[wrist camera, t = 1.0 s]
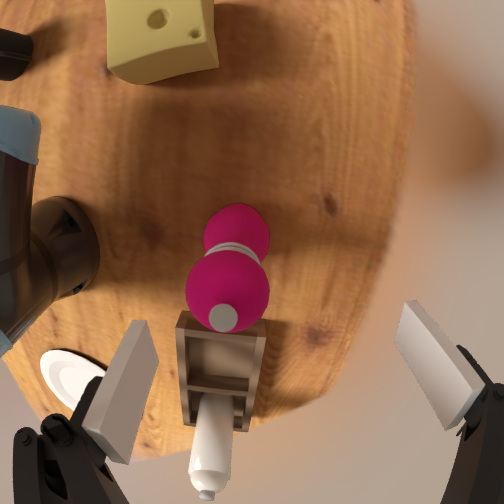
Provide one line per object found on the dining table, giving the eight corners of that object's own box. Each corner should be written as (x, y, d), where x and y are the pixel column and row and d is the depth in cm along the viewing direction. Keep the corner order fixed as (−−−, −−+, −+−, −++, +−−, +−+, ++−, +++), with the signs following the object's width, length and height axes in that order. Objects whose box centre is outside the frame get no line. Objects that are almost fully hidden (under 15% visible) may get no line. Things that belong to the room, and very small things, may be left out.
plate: (29, 333, 43) (25, 337, 42) (129, 362, 44) (126, 368, 43) (62, 405, 52) (59, 410, 51) (147, 432, 53) (146, 437, 52)
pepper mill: (277, 239, 35) (301, 345, 17) (227, 264, 37) (204, 380, 18) (250, 188, 33) (247, 248, 14) (198, 216, 34) (139, 301, 16)
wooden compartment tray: (248, 415, 49) (248, 432, 45) (187, 408, 48) (183, 424, 44) (265, 319, 40) (266, 337, 36) (181, 310, 39) (175, 327, 35)
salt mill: (201, 405, 46) (186, 500, 27) (200, 385, 44) (182, 489, 25) (233, 409, 46) (228, 505, 27) (236, 389, 44) (230, 495, 25)
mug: (32, 86, 26) (-14, 82, 17) (-3, 78, 25) (-43, 76, 15) (54, 37, 24) (11, 23, 14) (15, 35, 22) (-23, 26, 12)
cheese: (214, 3, 24) (202, -38, 15) (223, 72, 28) (211, 45, 19) (136, 22, 25) (102, -8, 15) (140, 90, 28) (101, 75, 19)
